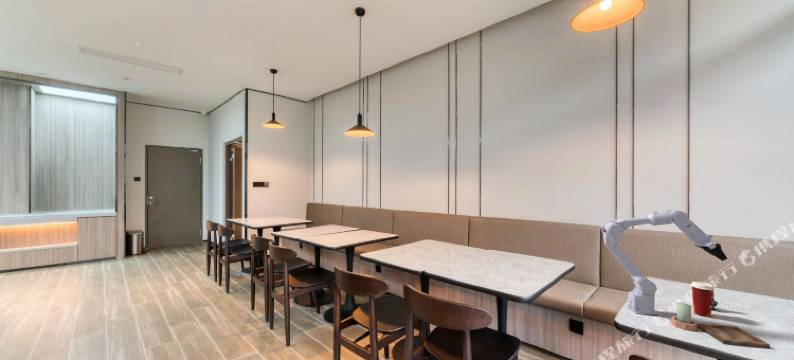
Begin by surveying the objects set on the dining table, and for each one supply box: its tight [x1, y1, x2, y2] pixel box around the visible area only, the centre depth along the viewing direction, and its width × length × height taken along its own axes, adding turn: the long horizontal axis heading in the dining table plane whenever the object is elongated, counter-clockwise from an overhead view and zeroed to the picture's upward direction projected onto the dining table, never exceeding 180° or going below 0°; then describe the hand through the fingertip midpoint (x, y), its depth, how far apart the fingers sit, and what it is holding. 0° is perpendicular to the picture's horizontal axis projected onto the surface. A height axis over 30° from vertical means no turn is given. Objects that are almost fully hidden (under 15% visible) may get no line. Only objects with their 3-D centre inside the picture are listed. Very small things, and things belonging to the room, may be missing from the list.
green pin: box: [676, 302, 692, 324], centre depth 129 cm, size 4×4×9 cm
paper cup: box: [690, 281, 715, 318], centre depth 140 cm, size 8×8×14 cm
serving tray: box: [696, 322, 771, 349], centre depth 120 cm, size 14×14×1 cm
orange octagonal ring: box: [670, 315, 698, 332], centre depth 129 cm, size 8×8×2 cm
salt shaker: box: [711, 289, 719, 312], centre depth 146 cm, size 6×6×12 cm
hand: (719, 256), depth 133 cm, fingers open, 7 cm apart
